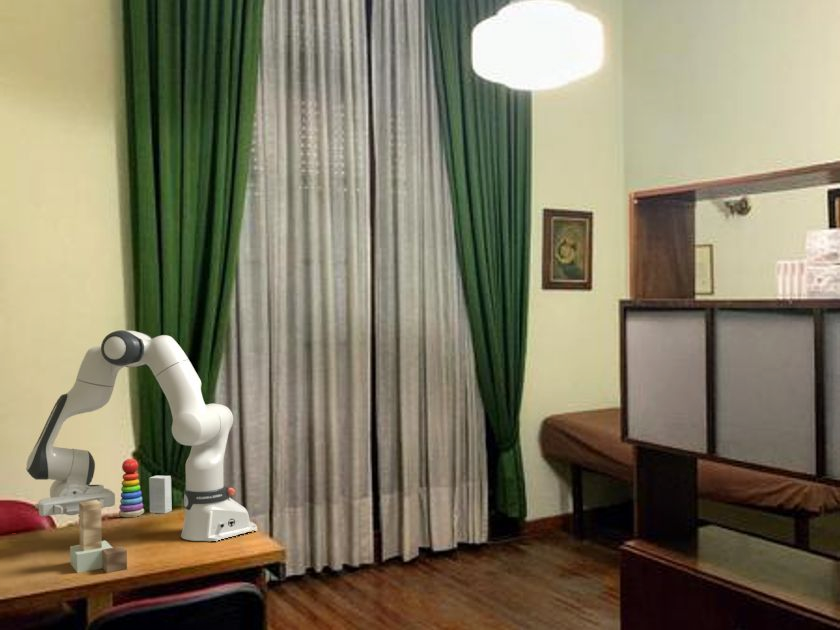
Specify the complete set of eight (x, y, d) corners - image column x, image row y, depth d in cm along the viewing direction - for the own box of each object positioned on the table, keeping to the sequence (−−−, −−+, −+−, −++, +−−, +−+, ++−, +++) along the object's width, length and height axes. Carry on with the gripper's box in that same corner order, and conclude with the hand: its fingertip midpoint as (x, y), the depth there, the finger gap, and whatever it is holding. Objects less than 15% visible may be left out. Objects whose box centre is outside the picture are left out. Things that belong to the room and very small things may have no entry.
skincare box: (172, 510, 262) (171, 475, 262) (165, 514, 258) (164, 478, 258) (156, 509, 264) (155, 475, 264) (149, 513, 260) (148, 477, 260)
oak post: (97, 543, 209) (96, 499, 209) (101, 547, 206) (101, 503, 206) (79, 546, 207) (79, 502, 207) (83, 551, 203) (83, 505, 203)
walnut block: (122, 564, 206) (121, 546, 206) (127, 569, 202) (126, 550, 202) (102, 568, 204) (102, 549, 204) (107, 573, 199) (106, 554, 199)
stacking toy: (148, 512, 261) (147, 456, 261) (137, 518, 253) (136, 461, 253) (126, 511, 262) (125, 456, 262) (114, 518, 254) (113, 461, 254)
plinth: (105, 558, 213) (105, 540, 213) (113, 567, 205) (113, 548, 205) (70, 565, 208) (70, 546, 208) (77, 574, 200) (77, 554, 200)
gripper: (33, 493, 222) (41, 503, 210) (108, 483, 233) (119, 492, 222) (33, 515, 222) (41, 526, 210) (108, 504, 233) (119, 514, 222)
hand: (82, 508), depth 216 cm, fingers open, 8 cm apart
